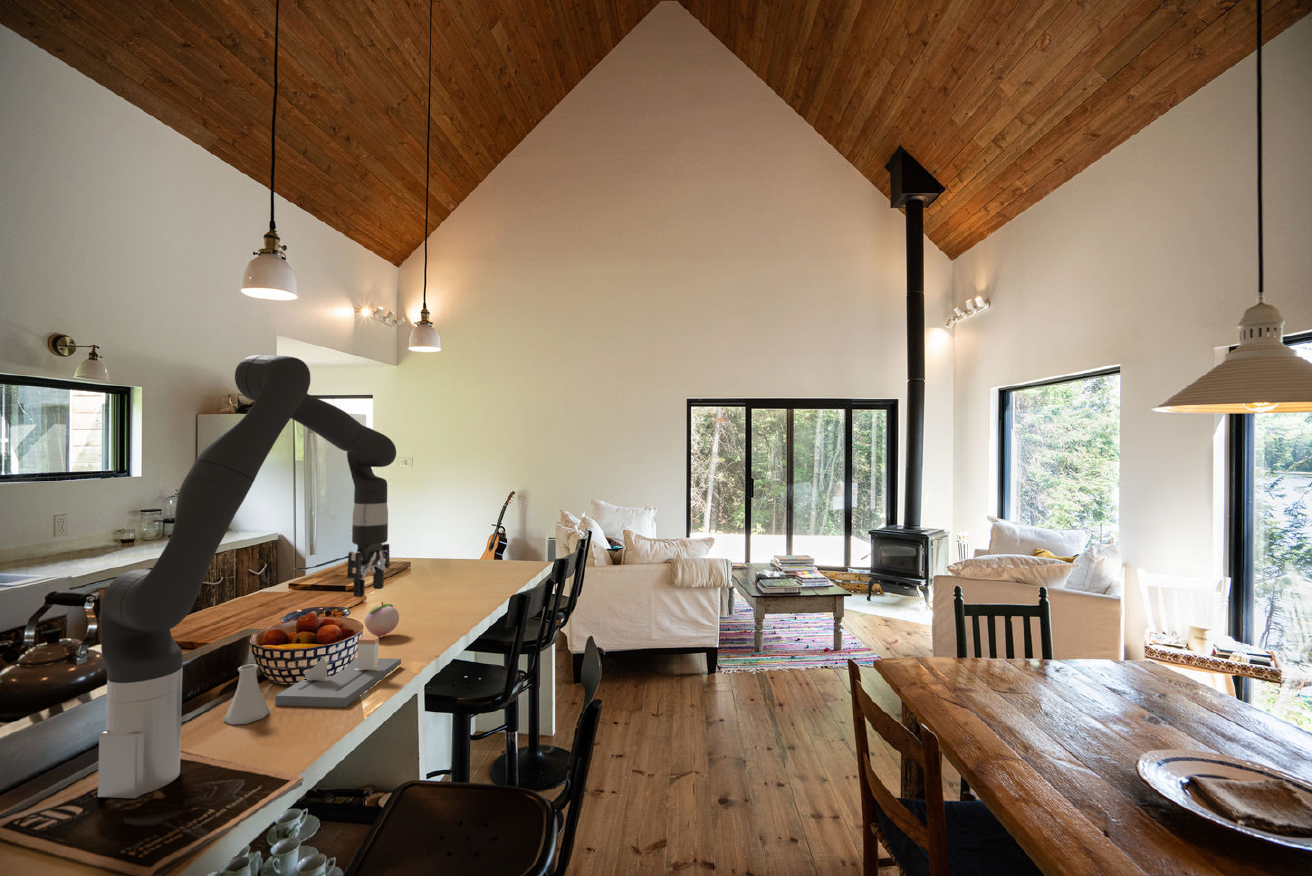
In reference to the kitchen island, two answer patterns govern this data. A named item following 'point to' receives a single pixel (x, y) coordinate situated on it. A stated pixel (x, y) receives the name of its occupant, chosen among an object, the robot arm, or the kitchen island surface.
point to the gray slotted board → (336, 686)
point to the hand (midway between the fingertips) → (368, 592)
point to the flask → (247, 698)
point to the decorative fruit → (382, 619)
